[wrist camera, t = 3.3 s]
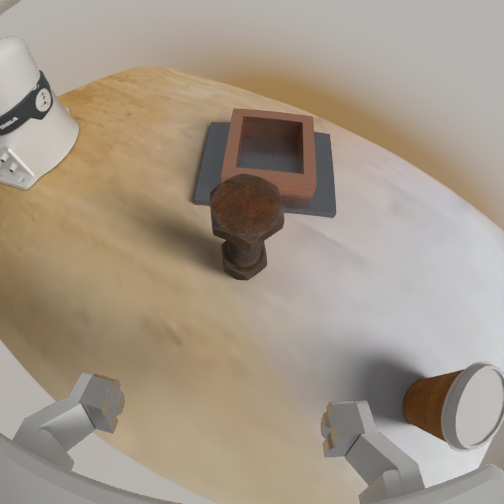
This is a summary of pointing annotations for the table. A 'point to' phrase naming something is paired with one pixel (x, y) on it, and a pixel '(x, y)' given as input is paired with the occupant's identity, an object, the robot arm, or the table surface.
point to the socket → (272, 159)
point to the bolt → (245, 222)
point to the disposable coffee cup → (459, 405)
